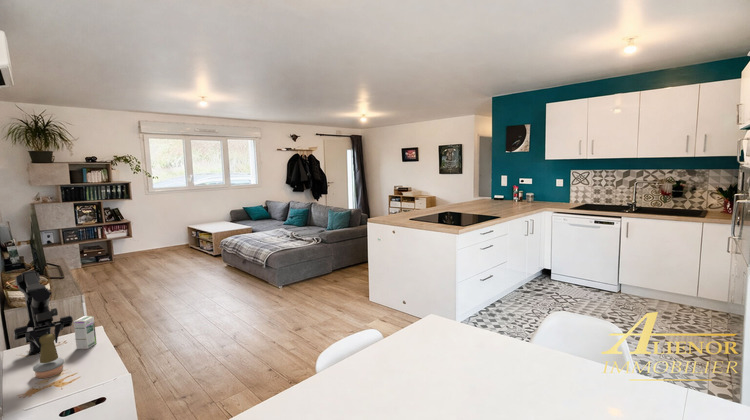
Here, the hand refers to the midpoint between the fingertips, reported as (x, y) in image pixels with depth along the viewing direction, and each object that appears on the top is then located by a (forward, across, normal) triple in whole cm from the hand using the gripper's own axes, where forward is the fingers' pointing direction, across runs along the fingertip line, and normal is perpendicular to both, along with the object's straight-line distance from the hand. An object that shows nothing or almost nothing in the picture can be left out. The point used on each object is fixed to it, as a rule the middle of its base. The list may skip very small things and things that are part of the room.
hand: (48, 344), depth 155 cm
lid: (+6, 0, +8) cm, 10 cm away
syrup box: (-3, +16, +23) cm, 28 cm away
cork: (+4, 0, +6) cm, 7 cm away
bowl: (+8, 0, +10) cm, 13 cm away
